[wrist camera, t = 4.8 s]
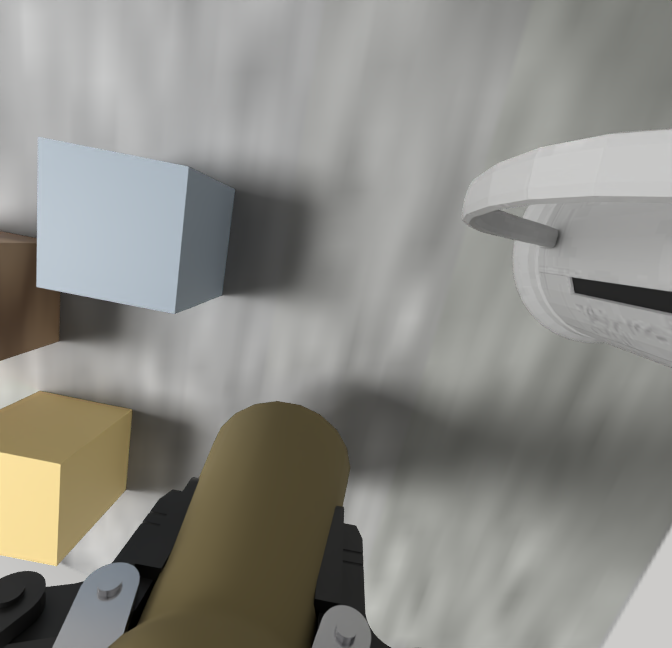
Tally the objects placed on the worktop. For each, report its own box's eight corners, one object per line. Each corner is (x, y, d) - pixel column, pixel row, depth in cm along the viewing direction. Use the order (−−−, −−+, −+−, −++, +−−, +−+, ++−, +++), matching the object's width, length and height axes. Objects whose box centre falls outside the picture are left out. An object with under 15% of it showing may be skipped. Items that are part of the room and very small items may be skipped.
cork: (350, 402, 15) (351, 835, 4) (349, 527, 16) (347, 1098, 5) (205, 400, 15) (-161, 802, 4) (215, 523, 16) (-40, 1060, 6)
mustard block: (40, 390, 19) (-64, 439, 14) (133, 408, 19) (60, 464, 14) (38, 471, 20) (-59, 543, 15) (126, 489, 20) (56, 565, 15)
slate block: (129, 168, 17) (37, 136, 12) (235, 189, 17) (188, 166, 12) (122, 275, 18) (36, 286, 13) (222, 295, 18) (174, 313, 13)
